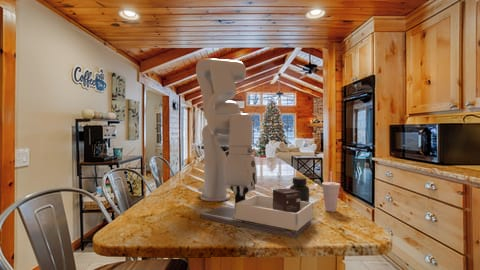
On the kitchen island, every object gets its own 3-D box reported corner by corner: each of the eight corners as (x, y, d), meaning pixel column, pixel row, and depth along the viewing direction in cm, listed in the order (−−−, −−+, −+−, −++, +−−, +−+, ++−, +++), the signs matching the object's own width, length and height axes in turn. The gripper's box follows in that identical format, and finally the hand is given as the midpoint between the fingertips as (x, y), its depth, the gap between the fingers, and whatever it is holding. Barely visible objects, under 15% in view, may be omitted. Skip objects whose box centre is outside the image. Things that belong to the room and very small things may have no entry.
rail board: (199, 217, 93) (199, 214, 93) (224, 207, 105) (224, 204, 105) (295, 237, 76) (295, 233, 76) (311, 223, 87) (311, 219, 87)
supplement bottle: (309, 215, 96) (309, 180, 96) (289, 213, 97) (289, 179, 97) (308, 209, 103) (308, 176, 102) (289, 208, 104) (289, 176, 104)
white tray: (234, 220, 86) (234, 203, 86) (256, 209, 98) (256, 194, 98) (297, 233, 75) (297, 214, 75) (313, 219, 87) (313, 202, 87)
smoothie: (340, 208, 104) (341, 171, 103) (339, 213, 98) (339, 173, 97) (322, 206, 106) (323, 169, 106) (320, 211, 100) (320, 172, 100)
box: (284, 219, 80) (284, 193, 80) (272, 213, 86) (272, 189, 86) (300, 215, 84) (300, 191, 83) (287, 210, 89) (287, 187, 89)
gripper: (265, 151, 92) (265, 207, 92) (227, 149, 99) (227, 201, 100) (254, 153, 85) (254, 213, 86) (215, 150, 93) (215, 206, 93)
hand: (240, 206), depth 93 cm, fingers closed
